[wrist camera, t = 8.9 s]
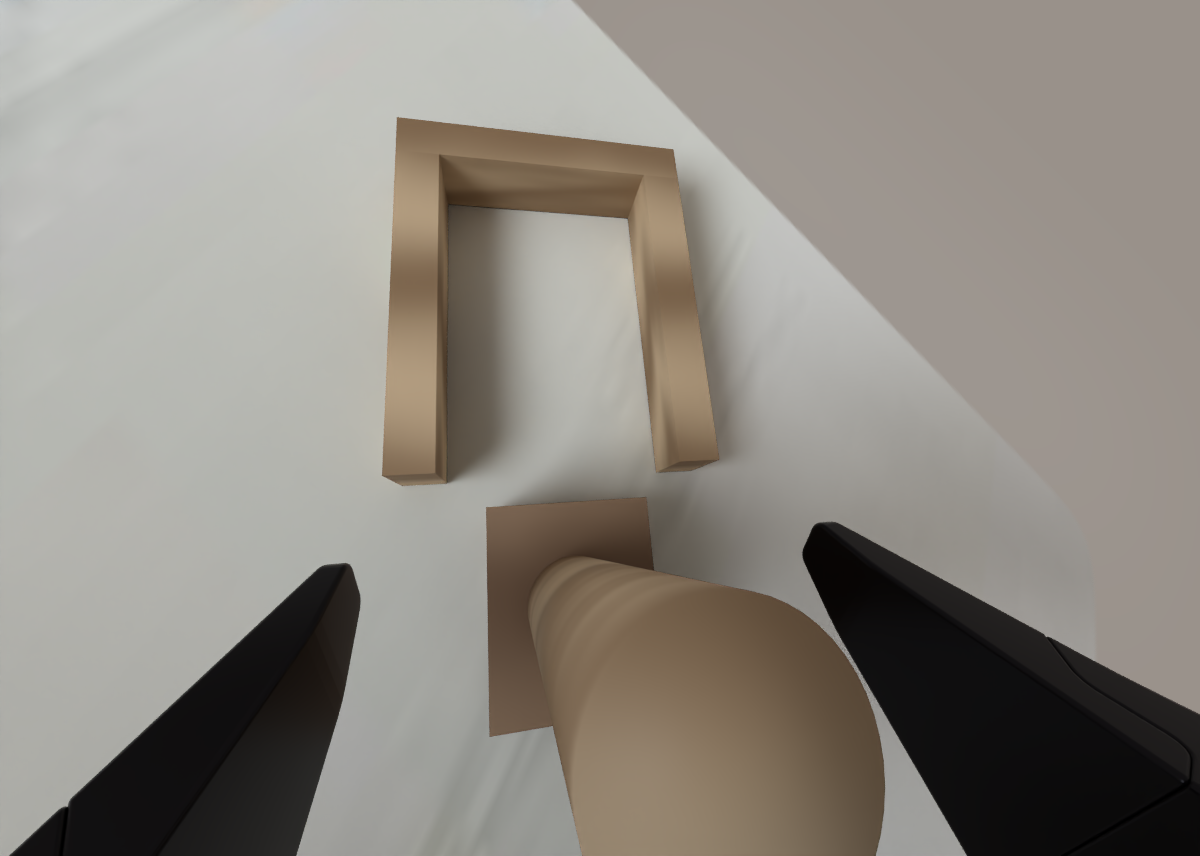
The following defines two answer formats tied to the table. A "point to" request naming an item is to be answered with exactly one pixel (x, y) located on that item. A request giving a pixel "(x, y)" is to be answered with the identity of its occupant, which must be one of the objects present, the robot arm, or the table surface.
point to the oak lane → (550, 184)
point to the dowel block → (674, 695)
